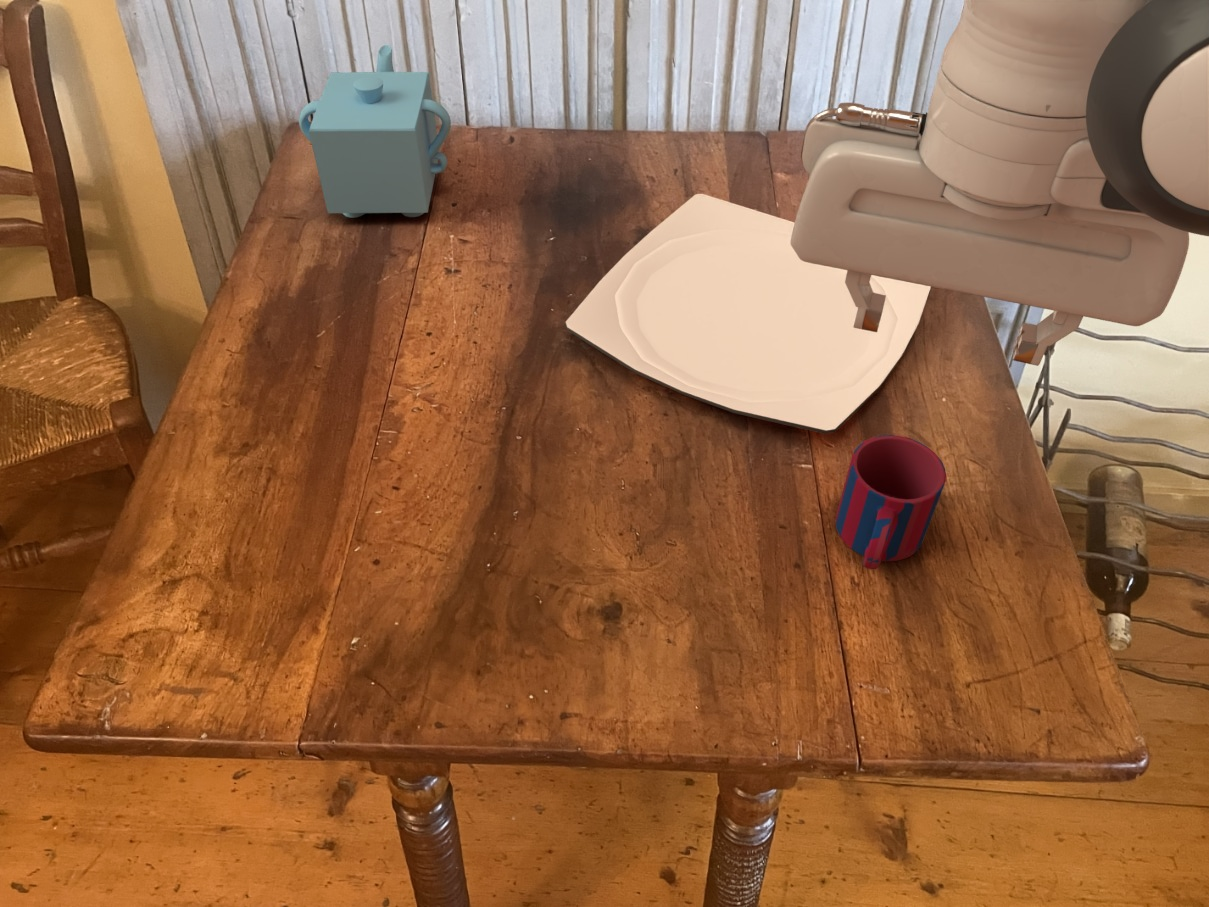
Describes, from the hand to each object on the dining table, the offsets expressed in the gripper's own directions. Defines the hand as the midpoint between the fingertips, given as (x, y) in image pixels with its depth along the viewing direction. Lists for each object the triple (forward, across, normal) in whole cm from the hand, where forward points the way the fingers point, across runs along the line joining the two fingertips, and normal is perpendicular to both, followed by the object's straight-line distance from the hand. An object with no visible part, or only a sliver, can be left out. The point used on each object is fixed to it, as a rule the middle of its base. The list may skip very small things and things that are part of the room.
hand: (944, 340), depth 60 cm
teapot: (+21, -58, +35) cm, 71 cm away
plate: (+21, -15, +24) cm, 35 cm away
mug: (+20, 0, 0) cm, 21 cm away
